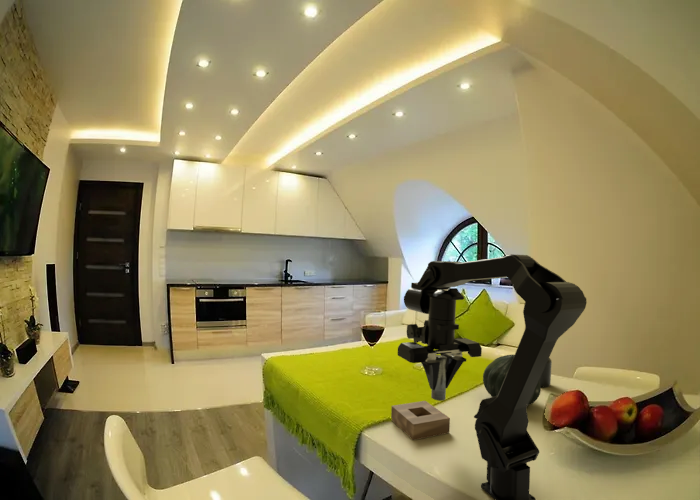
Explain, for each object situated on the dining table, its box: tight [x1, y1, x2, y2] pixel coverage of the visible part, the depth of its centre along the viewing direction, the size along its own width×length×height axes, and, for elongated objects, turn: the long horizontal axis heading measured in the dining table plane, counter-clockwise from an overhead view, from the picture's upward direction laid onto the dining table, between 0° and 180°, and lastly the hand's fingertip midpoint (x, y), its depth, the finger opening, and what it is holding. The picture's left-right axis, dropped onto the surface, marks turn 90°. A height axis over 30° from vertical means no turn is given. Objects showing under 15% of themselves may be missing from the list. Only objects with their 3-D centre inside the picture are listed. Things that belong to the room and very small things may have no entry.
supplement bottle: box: [539, 357, 552, 388], centre depth 118 cm, size 7×7×12 cm
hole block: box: [390, 400, 451, 441], centre depth 86 cm, size 10×10×4 cm
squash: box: [482, 354, 542, 406], centre depth 102 cm, size 14×15×15 cm
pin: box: [431, 354, 447, 402], centre depth 78 cm, size 3×3×9 cm
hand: (438, 388), depth 78 cm, fingers closed on pin, 3 cm apart
